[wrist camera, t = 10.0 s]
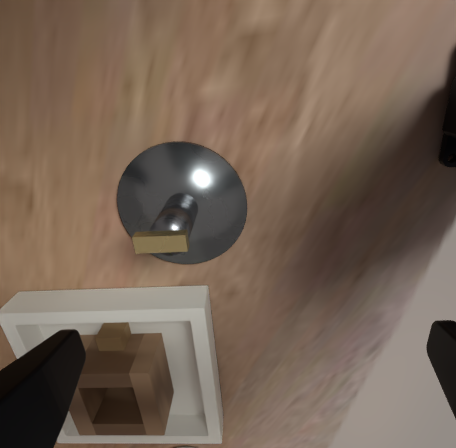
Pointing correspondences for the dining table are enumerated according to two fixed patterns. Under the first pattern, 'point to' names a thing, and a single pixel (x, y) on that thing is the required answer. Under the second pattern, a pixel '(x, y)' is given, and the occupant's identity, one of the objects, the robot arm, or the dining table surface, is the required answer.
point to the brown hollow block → (123, 384)
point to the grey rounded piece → (182, 203)
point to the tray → (139, 323)
